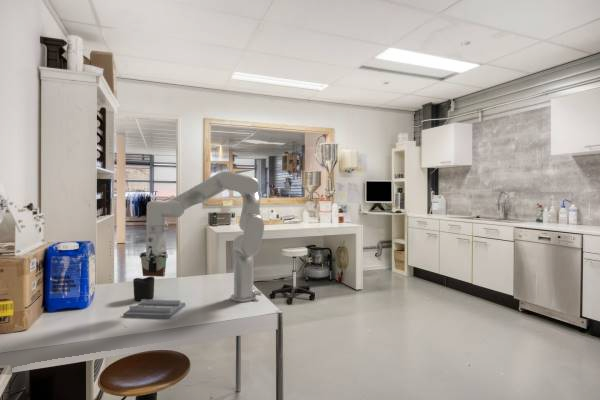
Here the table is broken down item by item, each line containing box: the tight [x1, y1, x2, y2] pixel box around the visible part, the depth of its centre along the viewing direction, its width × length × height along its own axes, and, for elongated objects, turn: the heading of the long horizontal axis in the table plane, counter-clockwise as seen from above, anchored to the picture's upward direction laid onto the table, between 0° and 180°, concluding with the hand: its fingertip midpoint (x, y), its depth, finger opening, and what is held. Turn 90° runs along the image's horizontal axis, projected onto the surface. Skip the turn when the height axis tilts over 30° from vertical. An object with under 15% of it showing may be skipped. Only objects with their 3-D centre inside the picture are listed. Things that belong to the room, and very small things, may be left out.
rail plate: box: [123, 298, 186, 319], centre depth 151 cm, size 20×16×4 cm
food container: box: [139, 251, 169, 278], centre depth 151 cm, size 12×6×10 cm, turn 84°
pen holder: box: [132, 276, 155, 303], centre depth 168 cm, size 9×9×10 cm
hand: (155, 270), depth 151 cm, fingers closed on food container, 5 cm apart
